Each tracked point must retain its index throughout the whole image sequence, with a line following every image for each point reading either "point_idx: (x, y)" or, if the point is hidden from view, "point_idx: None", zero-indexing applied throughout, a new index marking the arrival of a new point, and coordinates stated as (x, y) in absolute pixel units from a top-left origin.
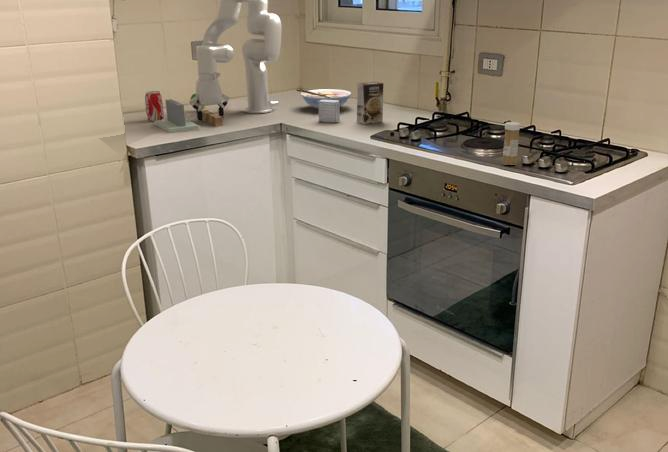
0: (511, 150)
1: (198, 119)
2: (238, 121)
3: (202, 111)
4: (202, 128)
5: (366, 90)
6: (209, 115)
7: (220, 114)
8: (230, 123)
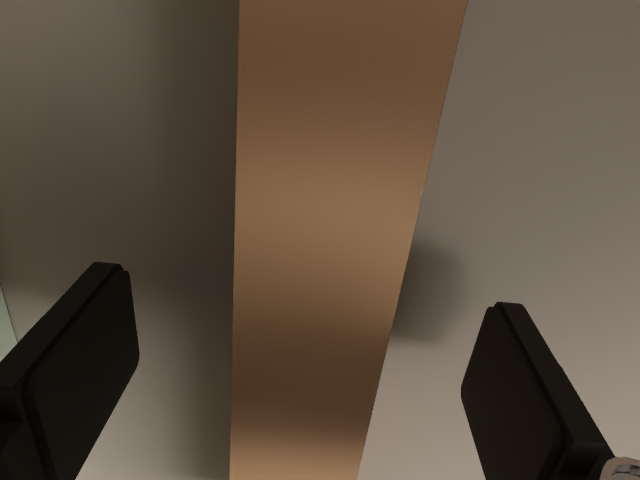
0: None
1: (99, 267)
2: (617, 433)
3: (268, 33)
4: (97, 467)
5: None
6: (231, 457)
7: (485, 401)
8: (468, 457)
